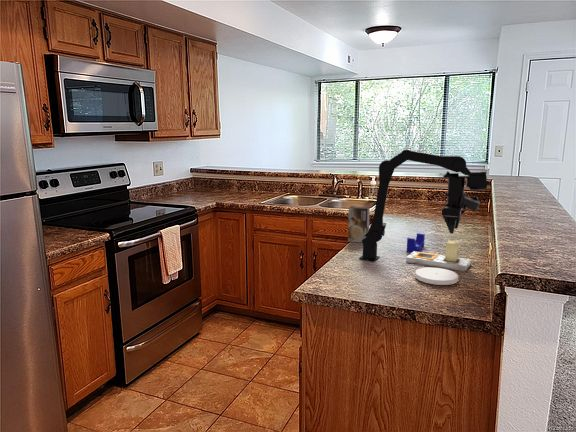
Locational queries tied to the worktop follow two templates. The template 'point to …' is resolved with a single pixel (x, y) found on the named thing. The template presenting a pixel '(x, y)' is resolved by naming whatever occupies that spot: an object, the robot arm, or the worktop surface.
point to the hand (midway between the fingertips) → (453, 230)
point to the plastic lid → (436, 276)
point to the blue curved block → (415, 243)
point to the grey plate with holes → (437, 261)
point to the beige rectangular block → (452, 251)
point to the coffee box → (358, 223)
